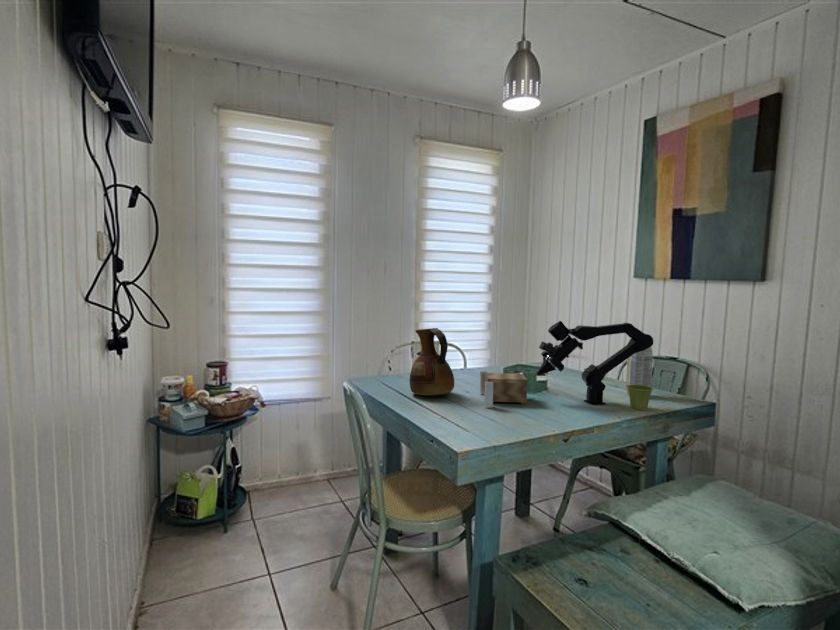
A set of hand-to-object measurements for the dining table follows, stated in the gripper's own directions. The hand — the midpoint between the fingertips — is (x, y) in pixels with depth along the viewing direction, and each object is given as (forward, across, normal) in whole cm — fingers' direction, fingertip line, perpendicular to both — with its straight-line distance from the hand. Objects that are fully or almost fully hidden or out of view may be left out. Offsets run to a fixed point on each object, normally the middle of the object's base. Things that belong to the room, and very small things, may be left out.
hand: (537, 374), depth 196 cm
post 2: (+23, +11, -7) cm, 27 cm away
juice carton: (-25, -14, +42) cm, 51 cm away
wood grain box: (+18, 0, -1) cm, 18 cm away
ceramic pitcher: (+40, -7, -23) cm, 47 cm away
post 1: (+23, -11, -7) cm, 27 cm away
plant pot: (-20, +7, +36) cm, 42 cm away
